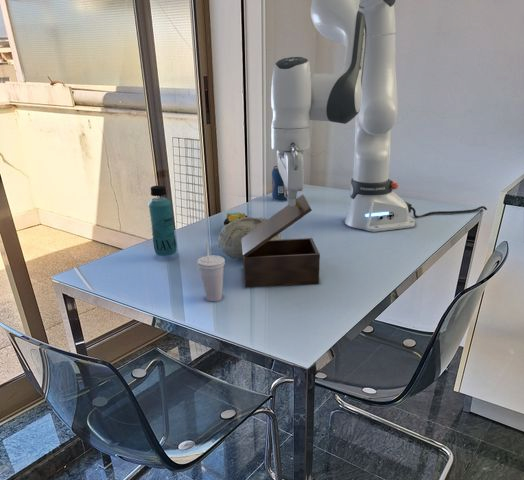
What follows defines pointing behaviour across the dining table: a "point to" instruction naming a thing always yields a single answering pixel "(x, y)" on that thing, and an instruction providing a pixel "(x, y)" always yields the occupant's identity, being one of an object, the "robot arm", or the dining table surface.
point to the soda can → (277, 185)
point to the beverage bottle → (162, 222)
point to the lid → (274, 225)
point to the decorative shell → (238, 235)
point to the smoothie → (212, 275)
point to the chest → (282, 263)
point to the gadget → (233, 217)
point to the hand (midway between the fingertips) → (289, 201)
